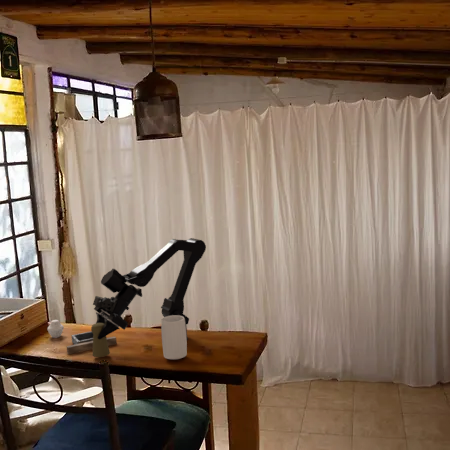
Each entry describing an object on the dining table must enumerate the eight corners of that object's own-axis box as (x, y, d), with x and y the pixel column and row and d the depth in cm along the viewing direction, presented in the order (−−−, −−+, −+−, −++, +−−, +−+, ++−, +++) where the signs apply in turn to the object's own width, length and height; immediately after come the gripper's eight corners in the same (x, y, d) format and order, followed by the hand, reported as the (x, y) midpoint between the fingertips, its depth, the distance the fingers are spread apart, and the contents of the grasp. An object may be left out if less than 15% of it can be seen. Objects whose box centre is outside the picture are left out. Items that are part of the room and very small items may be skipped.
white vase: (62, 338, 217) (60, 321, 216) (46, 339, 217) (44, 322, 216) (66, 333, 223) (64, 316, 223) (50, 334, 223) (49, 317, 222)
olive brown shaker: (105, 357, 191) (102, 326, 190) (89, 357, 193) (86, 326, 191) (112, 350, 197) (109, 321, 196) (96, 350, 199) (94, 320, 197)
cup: (174, 352, 197) (171, 313, 195) (192, 356, 192) (190, 316, 190) (158, 360, 190) (155, 320, 188) (176, 364, 185) (174, 323, 183)
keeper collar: (95, 336, 218) (95, 330, 217) (102, 343, 210) (101, 336, 209) (72, 341, 213) (71, 335, 213) (77, 348, 205) (77, 341, 205)
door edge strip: (115, 342, 210) (114, 336, 210) (116, 343, 208) (116, 337, 208) (67, 352, 201) (66, 346, 201) (68, 354, 200) (67, 347, 199)
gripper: (96, 282, 202) (69, 318, 197) (115, 292, 186) (86, 331, 182) (119, 299, 207) (93, 334, 203) (139, 310, 191) (111, 348, 187)
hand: (95, 336), depth 193 cm, fingers closed on olive brown shaker, 5 cm apart
